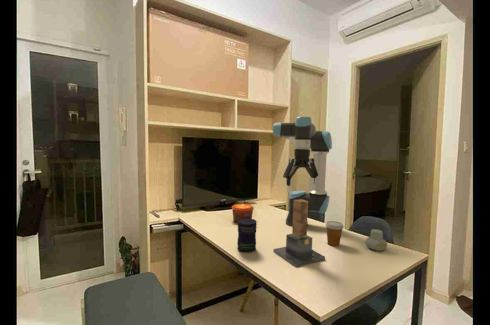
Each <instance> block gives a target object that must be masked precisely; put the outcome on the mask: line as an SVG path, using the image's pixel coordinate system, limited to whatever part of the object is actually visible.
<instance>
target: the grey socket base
mask: <svg viewBox="0 0 490 325" xmlns="http://www.w3.org/2000/svg"><path fill="white" fill-rule="evenodd" d="M285 241H286V242H285V244H286V245H285V246H282V247H277V248H273V253H275V254H276V256H279V257H280V258H282V259H283V260H284V261H286V262H287V263H289V264H290V265H292V266H293V267H295V268H297V267H301V265H302V266H305V264H306V265H309V264H313V263H317V262H322V261H325V260H326V256H325V255H323V254H321V253H319V252H317V251H315V250H314V249H313V237H312V236H309V235H307V238H302V239H297V238H295V237H293V236H292V233H289V234H286V240H285Z"/></svg>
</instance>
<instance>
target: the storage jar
mask: <svg viewBox="0 0 490 325" xmlns="http://www.w3.org/2000/svg"><path fill="white" fill-rule="evenodd" d="M237 234H238V235H237V243H236V244H237V250H238V252H240V253H245V254H247V253H248V254H249V253H253V252H255V251H256V250H257V248H256V246H257V236H256V235H257V220H256V219H253V218H252V219H248V218H245V219H240V220H238V223H237Z"/></svg>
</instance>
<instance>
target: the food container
mask: <svg viewBox="0 0 490 325" xmlns="http://www.w3.org/2000/svg"><path fill="white" fill-rule="evenodd" d="M231 209H232V210H231V211H232V219H233V222H234V223H236V224H238V220H240V219H245V218H248V219H253V214H254V209H255V208H254V206H253V205H251V204H248V203H247V204H246V203H239V204H238V203H237V204H233V205H232V206H231Z"/></svg>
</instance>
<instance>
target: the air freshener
mask: <svg viewBox="0 0 490 325" xmlns="http://www.w3.org/2000/svg"><path fill="white" fill-rule="evenodd" d="M383 237H384V232H383V231H382V230H381V229H376V228H372V229H371V230H370V236H368V237H367V238H365V240H364V243H365V245H366V247H367V248H369V249H371V250H373V251H377V252H380V251H384V250H386V249H387V247H388V243H387V241H386V240H385V239H384V238H383Z"/></svg>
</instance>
